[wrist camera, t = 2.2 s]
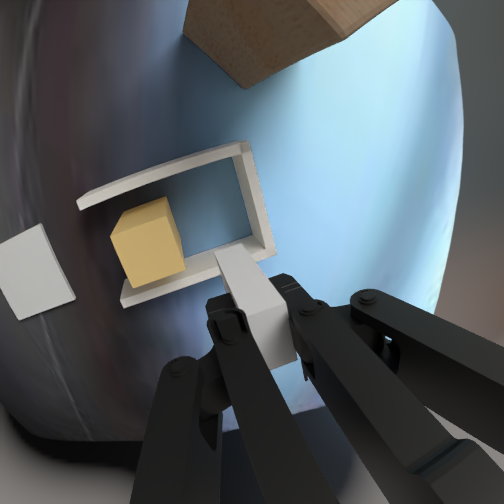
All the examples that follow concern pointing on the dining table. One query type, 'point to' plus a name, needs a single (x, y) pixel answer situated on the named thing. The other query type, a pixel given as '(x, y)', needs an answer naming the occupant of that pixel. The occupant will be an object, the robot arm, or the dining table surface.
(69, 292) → the tile
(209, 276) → the white u-shaped frame
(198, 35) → the wooden block
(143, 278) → the block
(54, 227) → the dining table surface
